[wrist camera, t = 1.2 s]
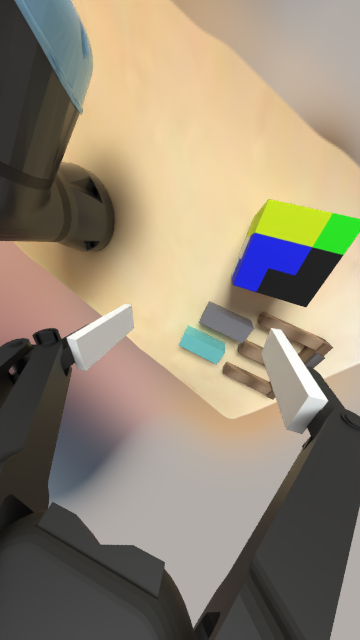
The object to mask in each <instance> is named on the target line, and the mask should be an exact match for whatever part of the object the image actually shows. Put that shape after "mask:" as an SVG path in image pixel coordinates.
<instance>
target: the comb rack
mask: <svg viewBox="0 0 360 640" xmlns="http://www.w3.org/2000/svg"><path fill="white" fill-rule="evenodd" d="M258 322H259V324H260V325H261V326H263V327H266V328H268V329H270V330H271V328H274V329H280V330H282V332H283V333H284V335H285V336H286V337H288V338H290V339H292V340H294V341H296V342H299V343H301V344H303V345H305V346H306V347H305V348H304V349H303V350H302V351H301V352H300V353H299V354H298V356H299V357H300V359H301V360H302V362H303V363H304V365H305V366H309V367H312V368H314V367H315V366H316V365H318V364H319V363H320V362H321V361H322V360H324V359H325V357H324V355H325V354H327V353H328V352H329V351H330V350H331V349H332V348H333V347H332V346H331V345H330V344H329V343H328V342H327V341H326V340H325V339H323V338H320V337H318V336H316V335H314V334H311V333H309V332H307V331H305V330H302V329H300V328H298V327H296V326H293V325H291V324H289V323H287V322H284V321H282V320H280V319H278V318H275V317H273V316H271V315H269V314H266V313H264V312H263V313H262V314H261V316H260V317H259V318H258ZM262 350H263V348H262V347H260V346H258V345H256V344H254V343H252V342H250V341H247V340H245V341H244V342H243V343H240V344H239V346H238V351H239V353H240V354H242V355H245V356H247V357H249V358H251V359H253V360H255V361H257V362H259V363H261V364H263V365H265V364H264V361H263V358H262V355H261V353H262ZM223 374H225V375H227V376H229V377H231V378H233V379H235V380H237V381H239V382H241V383H243V384H245V385H247V386H249V387H251V388H253V389H255V390H257V391H259V392H261V393H263V394H265V395H267V397H268V398H270V399H272V400H273V399H274V398H275V394H274V391H273V388H272V385H271V382H268V381H266V380H264V379H261V378H259V377H257V376H255V375H253V374H251V373H249V372H247V371H245V370H243V369H241V368H239V367H237V366H235V365H233V364H231V363H228V362H226V364H225V365H224V366H223Z"/></svg>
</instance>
